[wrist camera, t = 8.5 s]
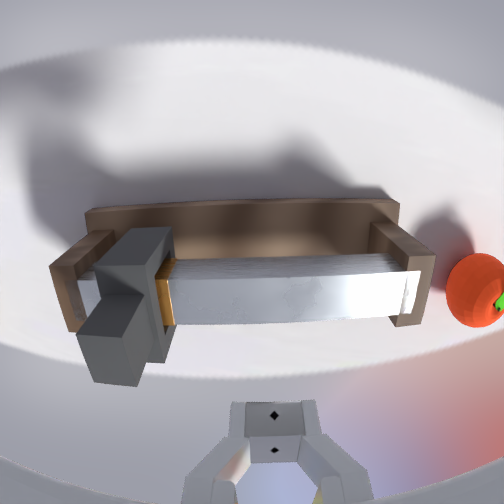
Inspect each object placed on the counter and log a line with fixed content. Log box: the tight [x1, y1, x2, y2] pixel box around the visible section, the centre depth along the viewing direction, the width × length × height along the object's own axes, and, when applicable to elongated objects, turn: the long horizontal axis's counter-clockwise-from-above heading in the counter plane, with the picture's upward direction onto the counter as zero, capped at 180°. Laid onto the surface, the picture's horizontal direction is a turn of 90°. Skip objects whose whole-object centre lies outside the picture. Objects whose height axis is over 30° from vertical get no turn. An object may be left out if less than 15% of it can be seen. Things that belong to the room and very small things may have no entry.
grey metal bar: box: [65, 253, 420, 326], centre depth 20 cm, size 22×3×3 cm, turn 91°
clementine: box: [446, 253, 504, 328], centre depth 24 cm, size 8×7×7 cm
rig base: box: [49, 198, 436, 333], centre depth 22 cm, size 25×8×8 cm, turn 91°
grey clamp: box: [76, 226, 177, 387], centre depth 18 cm, size 3×6×10 cm, turn 1°
